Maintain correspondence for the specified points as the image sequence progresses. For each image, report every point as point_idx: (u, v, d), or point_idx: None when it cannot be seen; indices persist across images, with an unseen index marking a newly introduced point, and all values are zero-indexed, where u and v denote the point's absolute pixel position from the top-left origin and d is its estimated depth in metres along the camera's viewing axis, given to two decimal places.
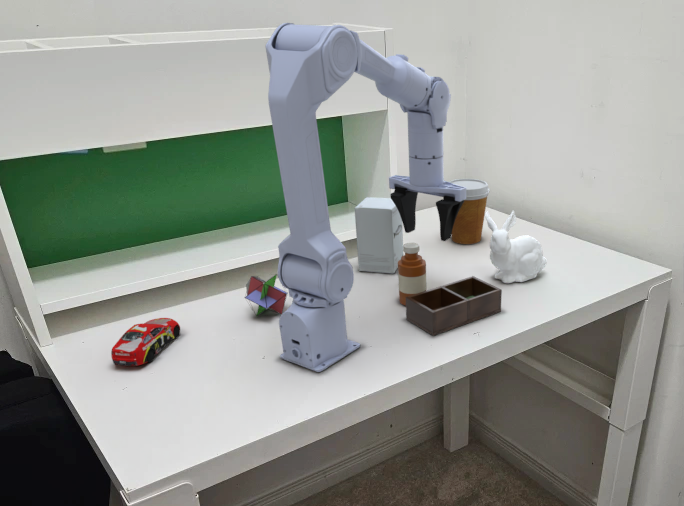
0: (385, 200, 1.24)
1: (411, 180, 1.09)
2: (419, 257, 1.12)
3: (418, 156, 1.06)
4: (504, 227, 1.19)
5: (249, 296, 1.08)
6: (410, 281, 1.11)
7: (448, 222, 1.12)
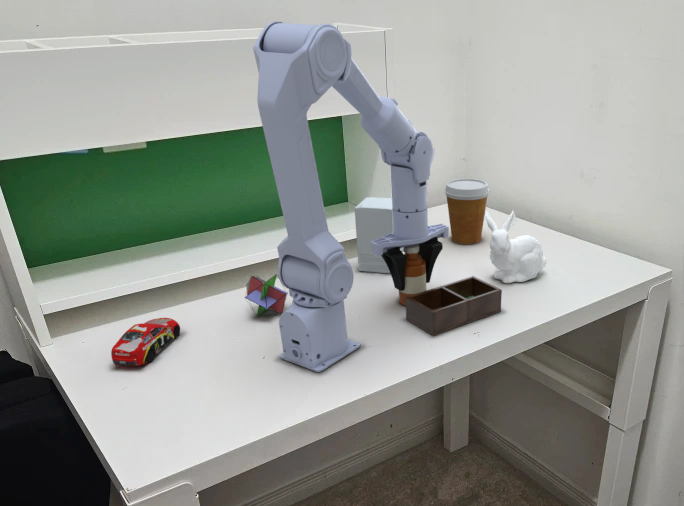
0: (385, 200, 1.24)
1: (412, 235, 1.07)
2: (419, 257, 1.12)
3: (401, 209, 1.05)
4: (504, 227, 1.19)
5: (249, 296, 1.08)
6: (410, 281, 1.11)
7: None
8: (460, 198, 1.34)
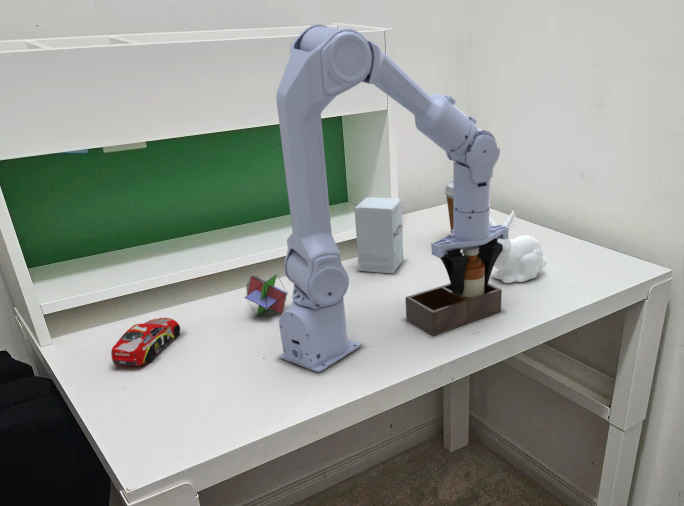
0: (385, 200, 1.24)
1: (474, 236, 1.03)
2: (478, 259, 1.08)
3: (458, 209, 1.02)
4: None
5: (249, 296, 1.08)
6: (469, 284, 1.07)
7: None
8: None
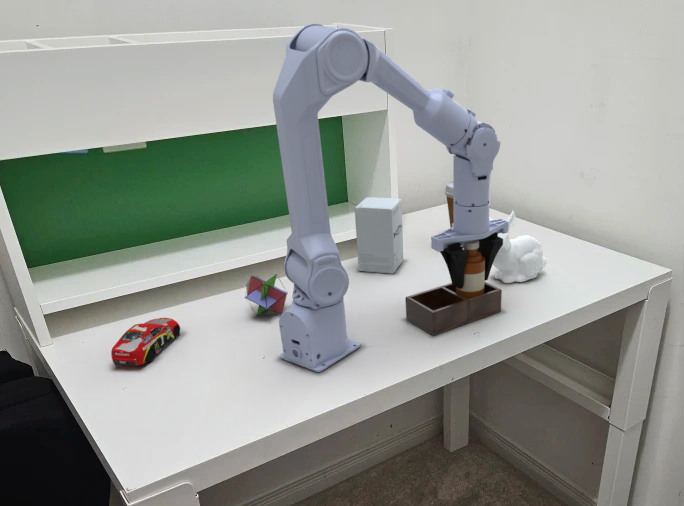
0: (385, 200, 1.24)
1: (475, 230, 1.02)
2: (478, 253, 1.07)
3: (458, 202, 1.01)
4: None
5: (249, 296, 1.08)
6: (469, 279, 1.07)
7: None
8: None
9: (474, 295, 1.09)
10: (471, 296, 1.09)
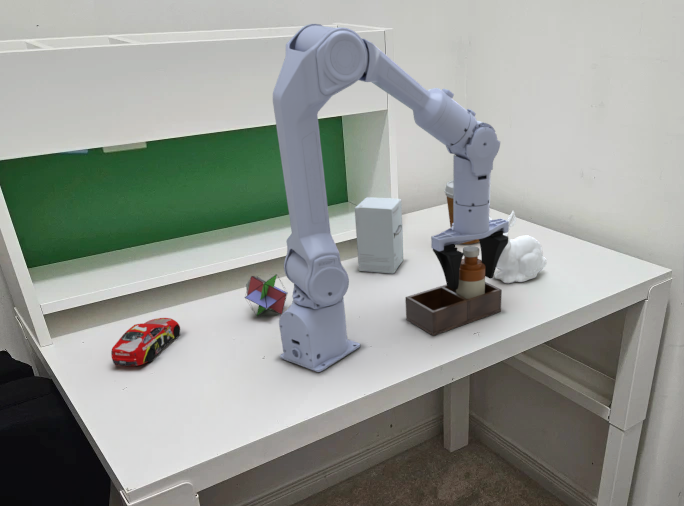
0: (385, 200, 1.24)
1: (475, 230, 1.02)
2: (479, 261, 1.08)
3: (458, 202, 1.01)
4: None
5: (249, 296, 1.08)
6: (469, 286, 1.08)
7: None
8: None
9: None
10: None
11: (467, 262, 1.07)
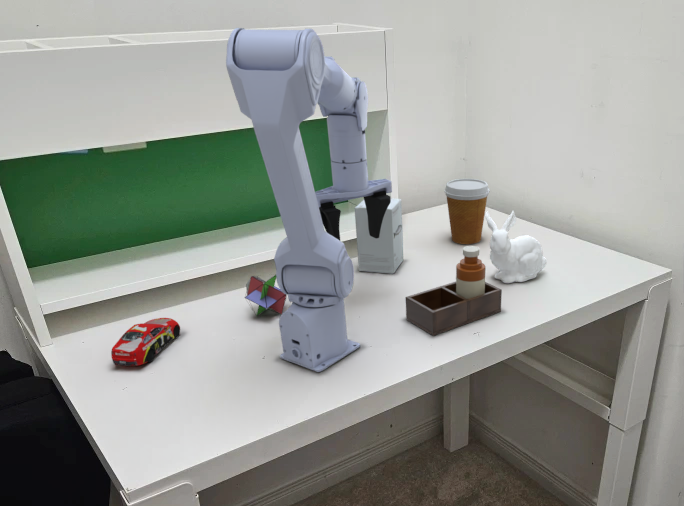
0: None
1: (351, 187, 1.04)
2: (479, 261, 1.08)
3: (346, 161, 1.02)
4: (504, 227, 1.19)
5: (249, 296, 1.08)
6: (469, 286, 1.08)
7: None
8: (460, 198, 1.34)
9: None
10: None
11: (467, 262, 1.07)
